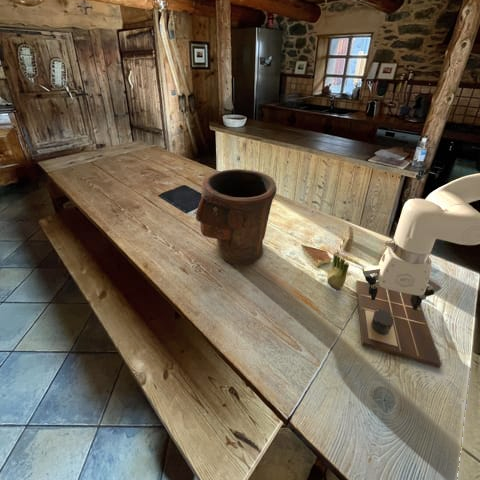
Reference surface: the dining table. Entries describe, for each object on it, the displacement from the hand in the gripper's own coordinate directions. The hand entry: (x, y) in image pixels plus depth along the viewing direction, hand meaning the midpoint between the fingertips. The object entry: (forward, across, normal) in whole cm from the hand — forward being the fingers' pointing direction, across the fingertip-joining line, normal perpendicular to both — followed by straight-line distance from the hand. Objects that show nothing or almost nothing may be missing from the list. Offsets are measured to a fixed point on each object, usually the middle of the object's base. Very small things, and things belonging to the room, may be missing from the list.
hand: (392, 300), depth 69 cm
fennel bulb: (+12, -13, +13) cm, 22 cm away
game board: (+12, +3, +5) cm, 14 cm away
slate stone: (+11, -1, 0) cm, 11 cm away
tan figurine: (+12, -9, +35) cm, 38 cm away
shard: (+12, -20, +24) cm, 33 cm away
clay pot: (+12, -50, +18) cm, 54 cm away
